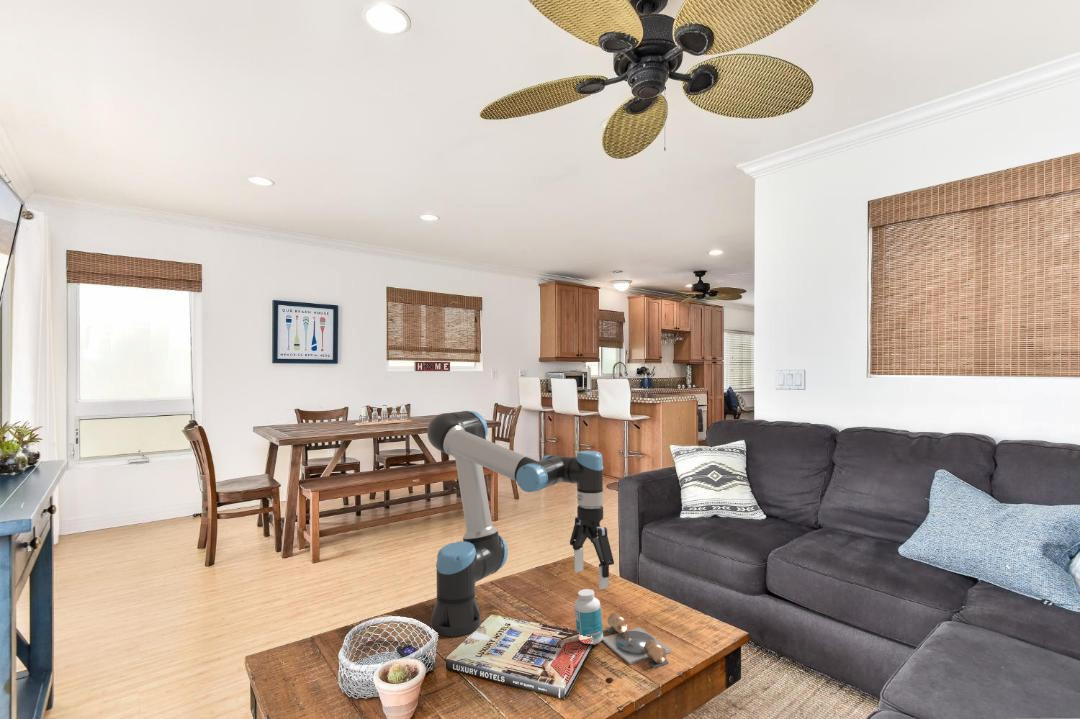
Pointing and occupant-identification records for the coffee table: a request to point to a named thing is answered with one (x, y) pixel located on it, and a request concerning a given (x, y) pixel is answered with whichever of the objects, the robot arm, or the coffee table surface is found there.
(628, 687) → the coffee table surface
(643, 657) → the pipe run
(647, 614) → the coffee table surface
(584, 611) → the pill bottle
